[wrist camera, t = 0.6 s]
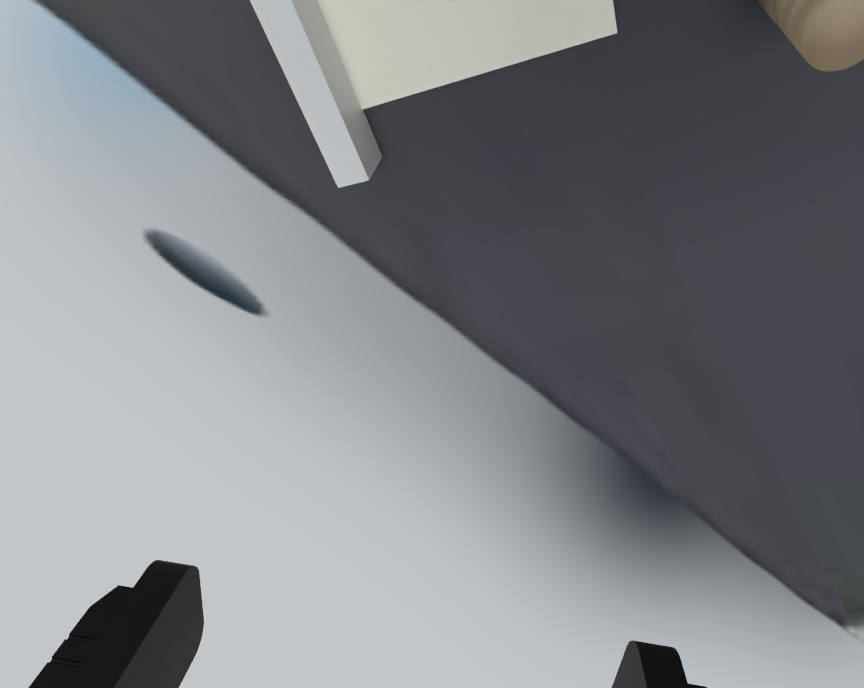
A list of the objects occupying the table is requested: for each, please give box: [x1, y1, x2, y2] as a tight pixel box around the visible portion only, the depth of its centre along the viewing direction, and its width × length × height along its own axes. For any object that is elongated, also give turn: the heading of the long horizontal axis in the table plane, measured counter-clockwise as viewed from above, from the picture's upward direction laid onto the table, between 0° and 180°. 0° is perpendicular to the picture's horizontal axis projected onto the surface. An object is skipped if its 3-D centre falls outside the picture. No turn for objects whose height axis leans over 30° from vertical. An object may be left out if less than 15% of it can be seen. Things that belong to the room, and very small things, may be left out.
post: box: [757, 0, 864, 71], centre depth 23 cm, size 2×2×9 cm
